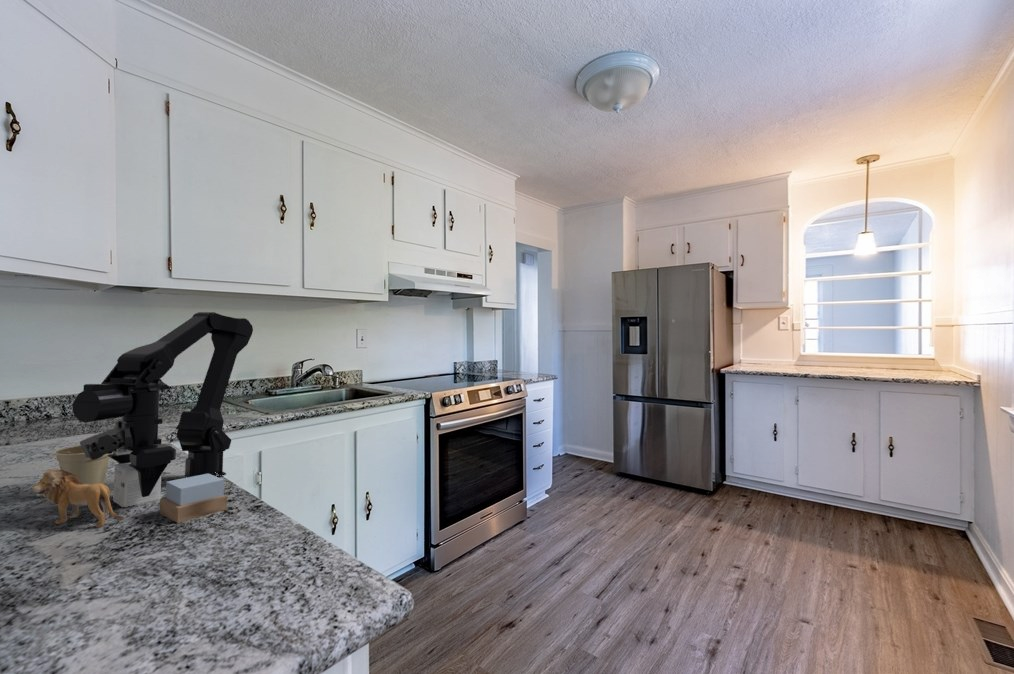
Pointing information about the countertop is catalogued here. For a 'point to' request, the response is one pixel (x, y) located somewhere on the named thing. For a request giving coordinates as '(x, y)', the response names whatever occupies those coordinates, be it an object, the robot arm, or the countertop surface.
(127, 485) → the skincare box
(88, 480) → the flower pot
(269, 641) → the countertop surface
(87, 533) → the countertop surface
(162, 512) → the bottom slab
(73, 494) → the lion figurine
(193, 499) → the top slab
